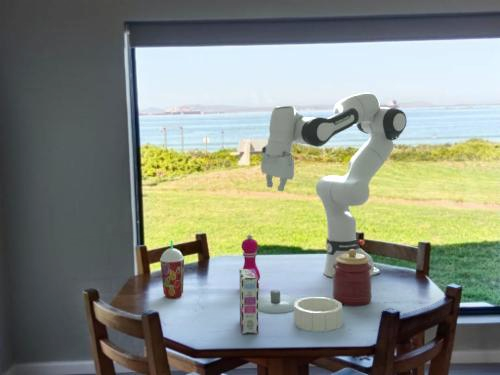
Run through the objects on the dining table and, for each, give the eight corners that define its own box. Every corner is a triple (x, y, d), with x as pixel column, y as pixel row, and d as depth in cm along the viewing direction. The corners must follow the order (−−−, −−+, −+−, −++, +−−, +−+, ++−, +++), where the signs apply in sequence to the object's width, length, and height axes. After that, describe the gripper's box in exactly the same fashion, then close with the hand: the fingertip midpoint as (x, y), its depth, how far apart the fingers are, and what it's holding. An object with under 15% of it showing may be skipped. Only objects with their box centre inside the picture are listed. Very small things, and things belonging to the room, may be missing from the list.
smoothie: (189, 293, 186) (187, 238, 184) (178, 301, 178) (176, 243, 176) (168, 291, 189) (166, 237, 187) (157, 299, 181) (155, 242, 179)
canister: (363, 309, 168) (364, 255, 166) (326, 302, 174) (326, 251, 172) (376, 297, 179) (377, 247, 177) (341, 291, 185) (341, 243, 183)
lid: (285, 295, 184) (285, 281, 184) (308, 309, 170) (308, 294, 169) (243, 302, 177) (243, 288, 177) (264, 317, 163) (264, 302, 162)
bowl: (325, 311, 166) (324, 294, 166) (351, 326, 154) (351, 308, 153) (285, 318, 161) (285, 301, 160) (309, 334, 148) (309, 316, 147)
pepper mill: (258, 291, 187) (257, 237, 185) (238, 290, 189) (237, 236, 186) (261, 285, 194) (261, 232, 192) (242, 284, 196) (241, 232, 194)
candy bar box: (259, 334, 149) (258, 278, 147) (242, 334, 149) (241, 278, 147) (255, 319, 160) (254, 267, 158) (239, 320, 160) (238, 268, 158)
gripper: (300, 153, 178) (296, 193, 179) (275, 149, 196) (271, 185, 198) (284, 152, 175) (279, 192, 177) (259, 148, 194) (255, 184, 195)
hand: (274, 189), depth 187 cm, fingers open, 8 cm apart
